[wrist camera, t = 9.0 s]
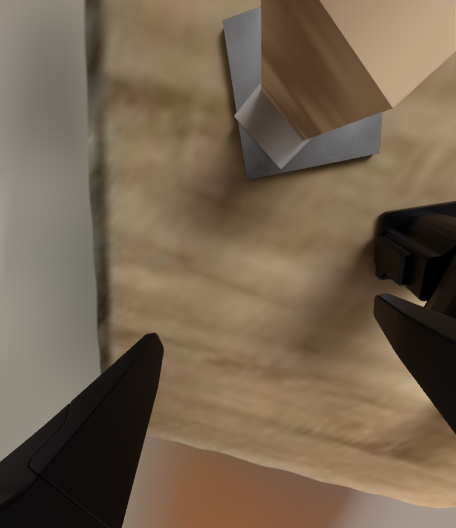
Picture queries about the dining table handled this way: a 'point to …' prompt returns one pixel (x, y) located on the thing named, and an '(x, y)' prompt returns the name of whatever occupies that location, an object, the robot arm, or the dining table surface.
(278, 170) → the steel plate
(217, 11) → the dining table surface
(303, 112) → the block
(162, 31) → the dining table surface
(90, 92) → the dining table surface
